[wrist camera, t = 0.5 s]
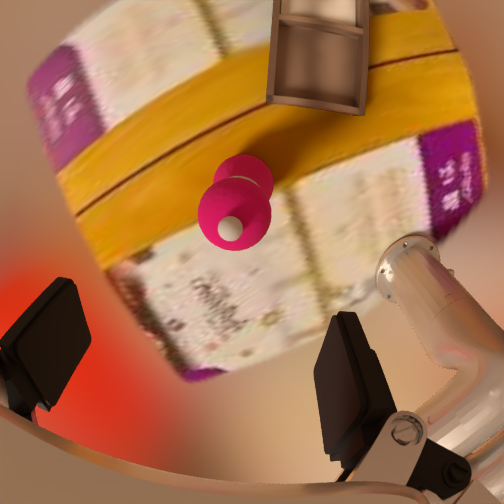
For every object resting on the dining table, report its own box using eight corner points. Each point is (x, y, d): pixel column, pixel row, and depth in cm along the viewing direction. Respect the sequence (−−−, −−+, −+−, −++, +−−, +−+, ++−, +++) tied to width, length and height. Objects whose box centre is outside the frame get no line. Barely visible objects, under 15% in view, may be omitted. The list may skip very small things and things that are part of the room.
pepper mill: (228, 143, 35) (193, 166, 17) (280, 162, 36) (299, 203, 18) (211, 192, 38) (168, 260, 20) (261, 210, 39) (259, 291, 21)
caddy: (359, -22, 23) (367, -31, 19) (355, 115, 33) (364, 115, 30) (276, -36, 23) (277, -48, 19) (265, 103, 33) (266, 101, 30)
